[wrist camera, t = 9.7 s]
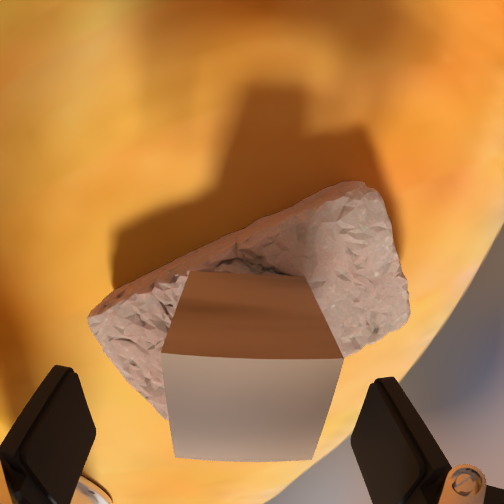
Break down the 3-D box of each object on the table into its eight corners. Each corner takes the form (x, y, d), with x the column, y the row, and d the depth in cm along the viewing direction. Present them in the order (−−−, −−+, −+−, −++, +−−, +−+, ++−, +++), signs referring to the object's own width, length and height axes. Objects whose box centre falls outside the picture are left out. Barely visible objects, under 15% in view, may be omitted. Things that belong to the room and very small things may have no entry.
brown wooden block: (290, 366, 16) (311, 459, 10) (191, 362, 15) (175, 457, 10) (304, 276, 14) (344, 358, 8) (190, 270, 14) (160, 352, 8)
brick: (352, 170, 17) (387, 178, 13) (392, 290, 20) (425, 325, 15) (108, 286, 19) (76, 322, 14) (173, 381, 21) (162, 427, 17)
